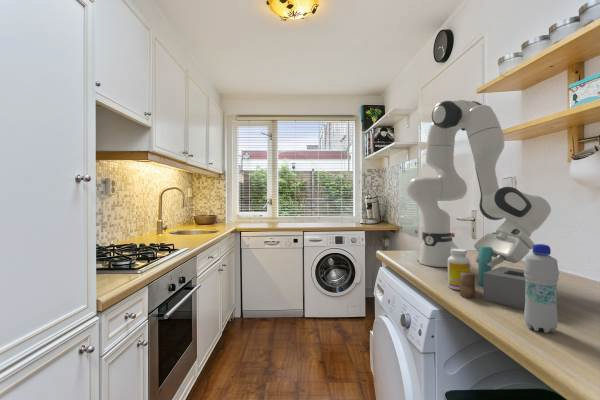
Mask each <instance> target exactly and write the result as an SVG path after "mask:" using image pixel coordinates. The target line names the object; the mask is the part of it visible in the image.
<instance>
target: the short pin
mask: <svg viewBox="0 0 600 400" xmlns="http://www.w3.org/2000/svg"><path fill="white" fill-rule="evenodd" d="M475 279H476V274H475V273H473V272H470V273H469V272H461V273H460V290H459V296H460V297H461V296H462V298H464V297H465V298H464V299H474V298H475V295H476V293H475V292H476V286H475V285H476V284H475V283H476V281H475Z"/></svg>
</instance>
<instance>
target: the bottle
mask: <svg viewBox="0 0 600 400" xmlns="http://www.w3.org/2000/svg"><path fill="white" fill-rule="evenodd" d="M551 251H552V250H551V247H550V245H548V244H543V243H539V244H538V243H537V244H535V245H534V246H533V249H532V254H529V255H526V256H525V261H524V266H523V270H524V276H525V278H526V282H525V310H524V309H523V310H524V311H523V313H524V314H523V316H524V322H525V325H526V327H527V328H528V329H531V330H532V329H533V330H534V331H535V332H539V331H540V329H543V332H544V334H546V333H547V334H548V333H554V332H555V331H556V330H557V327H558V323H559V321H558V308H557V303H558V301H557V299H558V298H557V296H558V292H557V290H558V287H557V286H558V285H557V284H558V281H559V280H560V278H559V275H560V270H559V265H558V264H559V263H558V260H557V258H555V257H553V256H552V255H551V253H552V252H551Z"/></svg>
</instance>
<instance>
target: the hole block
mask: <svg viewBox="0 0 600 400" xmlns="http://www.w3.org/2000/svg"><path fill="white" fill-rule="evenodd" d="M525 282H526V278H525V276H524V269H518V268H514V267H508V266H507V267H506V266H499V267H497V268H492V270H491V271H488V272H485V273H484V286H483V298H482V300H483V301H488V302H492V303H496V304H501V305H505V306H509V307H513V308H515V309H516V308H517V309H521V310H525Z"/></svg>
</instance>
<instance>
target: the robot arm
mask: <svg viewBox="0 0 600 400" xmlns="http://www.w3.org/2000/svg"><path fill="white" fill-rule="evenodd" d="M431 120H432V122H431V124H430V126H429V130H428V134H427V139H426V140H427V141H426V152H425V163H426V164H427V166H429V167H430V168H432V169H433V170H435V171H436V175H435V176H420V177H415V178H414V177H413V178H411V180H410V181H409V182H408V184H407V186H406V193H407V194H408V196H409V197H408V198H410V199H411V200H412V201H413V202H415V203H416V204H417V206H418V207H419V209H420V211H421V215H422V226H423V231H421V232H422V233H421V237H422V242H420V246H419V255H418V256H419V257H418V258H417V259H416V260H417V262H419V264H421V265H423V266H430V267H437V268H438V267H439V268H448V258H449V257H451V256H452V254H451V249H460V248H459V247H458V245H456V243H455V242H454V241H453V238H455V232H451V216H450V214H449V213H448V212H447V211H445V210H444V209H442V208H440V206H439V203H438V202H452V201H457V200H461V199H463V198H464V197H465V196H466V194H467V190H468V185H467V183H466V181H465V180H464V179H463V178H462V177H461V176H460V175H459V174H458V172H457V171H456V169H455V162H454V160H455V159H454V154H455V144H456V143H455V142H456V139H455V138H456V134H458V132H459V131H460V130H461V131H462V132H463V131H465V132H466V135H467V139H468V142H469V146H470V147H469V148H470V150H471V153H472V156H473V157H472V158H473V162H474V166H475V167H474V168H475V172H476V177H477V183H478V187H479V191H480V199H479V211H480V213H481V214H482V215H483V217H485V218H486V219H488V220H491V221H500V220H503V219H505V220H504V222H503V223H502V224H501V225H500V226H499V227H498V228H497V229H496V230H495V231H492V232H491V233H490V232H489V233H487V234H485V235H483V236H482V237H481V238H479V240H477V242H476V243H475V244H474V246H473V247H474V248H475V250H476V251H477V252H478V253H479V247H481V246H483V247H491V248H492V261H489V262H488V263H487V265H488V266H489V267H491V268H492V269H495V267H496V266H497V265H499V264H502V263H503V262H505V261H506V262H508V263H512V264H517V263H519V262H520V261H522V260H523V258H526V257H527V256H528V253H529V252H530V250H533V246H534V245H536V244H535V242H534V241H533V240H532V239H531V236H532V234H533V233H534V232H535V231H537V230H538V229H539V228H540V227H541V226H542V225H543V224H544V223H545V222H546V220H548V218H549V216H550V215H551V213H552V208H551V205H550V203H549V202H548V201H547V200H546V199H545V198H544V197H541V196H540V195H535V194H534V195H532V194H528V193H525V192H522V191H520V190H519V189H517V188H515V187H512V186H504V187H501V188H500V187H499V183H498V178H497V174H496V166H497V163H498V159H499V157H500V156H501V154H502V152H503V150H504V148H505V138H504V133H503V130H502V126H501V124H500V121H499V119H498V117H497V115H496V114H495V111H494V110H493V109H492V107H491V106H489V105H487V104H482V103H480V102H478V101H474V100H472V101H471V100H465V99H463V100H462V99H460V100H459V99H458V100H444V101H440V102H438V103H437V104H436V105H435V106H434V107H433V109H432V111H431ZM493 258H494V259H493ZM474 260H475V262H476V263H477V264H478V256H477V257H476V258H475V259H474Z"/></svg>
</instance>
